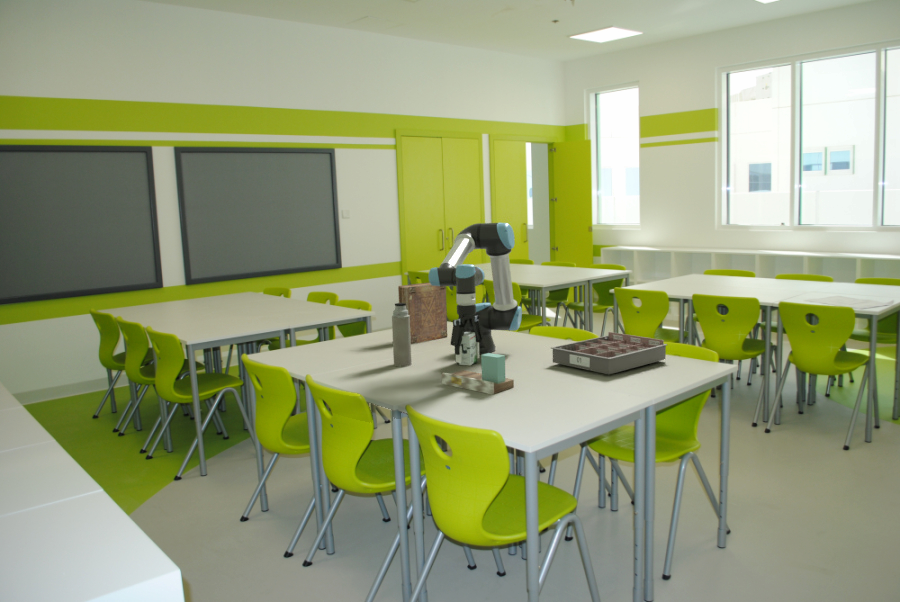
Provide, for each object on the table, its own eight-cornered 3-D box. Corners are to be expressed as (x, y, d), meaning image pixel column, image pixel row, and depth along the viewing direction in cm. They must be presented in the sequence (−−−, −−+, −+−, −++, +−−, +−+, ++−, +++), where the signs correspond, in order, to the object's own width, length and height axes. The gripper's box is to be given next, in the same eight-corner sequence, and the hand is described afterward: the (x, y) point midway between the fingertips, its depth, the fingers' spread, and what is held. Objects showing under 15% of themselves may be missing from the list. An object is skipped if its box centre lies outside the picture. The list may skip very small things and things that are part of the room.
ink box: (465, 360, 266) (464, 331, 265) (476, 360, 265) (476, 331, 263) (458, 365, 258) (457, 335, 256) (470, 365, 256) (469, 335, 255)
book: (410, 344, 346) (408, 287, 342) (400, 341, 353) (397, 286, 349) (447, 337, 362) (445, 282, 358) (436, 335, 369) (435, 281, 365)
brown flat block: (441, 383, 263) (441, 373, 262) (463, 377, 272) (463, 366, 272) (492, 394, 245) (491, 383, 244) (513, 387, 254) (513, 376, 254)
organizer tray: (550, 365, 289) (549, 343, 288) (608, 351, 313) (608, 331, 312) (609, 378, 264) (609, 354, 263) (667, 362, 288) (668, 340, 287)
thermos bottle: (399, 362, 304) (396, 301, 300) (414, 363, 301) (412, 302, 297) (390, 365, 297) (388, 304, 293) (406, 367, 294) (403, 304, 290)
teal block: (481, 380, 254) (481, 354, 253) (489, 378, 258) (488, 352, 256) (498, 383, 249) (497, 357, 248) (505, 381, 252) (504, 355, 251)
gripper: (454, 308, 248) (455, 366, 251) (491, 301, 264) (492, 356, 267) (439, 306, 253) (441, 364, 256) (477, 300, 269) (478, 354, 272)
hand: (467, 360), depth 261 cm, fingers closed on ink box, 9 cm apart
